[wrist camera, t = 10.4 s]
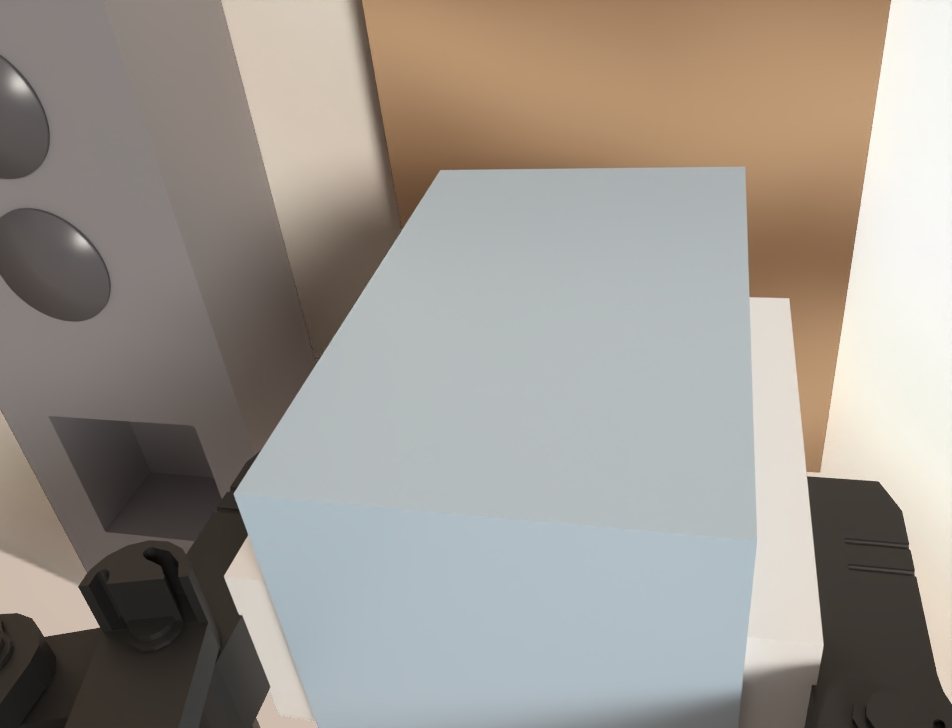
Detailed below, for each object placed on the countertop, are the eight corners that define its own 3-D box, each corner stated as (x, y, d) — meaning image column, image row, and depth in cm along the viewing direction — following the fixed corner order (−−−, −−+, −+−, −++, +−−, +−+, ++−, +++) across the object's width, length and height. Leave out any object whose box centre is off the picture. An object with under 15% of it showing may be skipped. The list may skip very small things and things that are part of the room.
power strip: (-380, -767, 14) (-761, -932, 10) (-16, -903, 12) (-323, -1157, 9) (173, 523, 31) (99, 631, 27) (362, 542, 29) (309, 660, 25)
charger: (471, 121, 17) (233, 494, 9) (743, 114, 16) (756, 539, 8) (501, 377, 20) (349, 813, 12) (726, 388, 19) (722, 881, 11)
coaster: (351, -122, 17) (341, -118, 17) (911, -178, 15) (917, -175, 14) (444, 432, 25) (439, 446, 25) (818, 456, 23) (819, 472, 22)
